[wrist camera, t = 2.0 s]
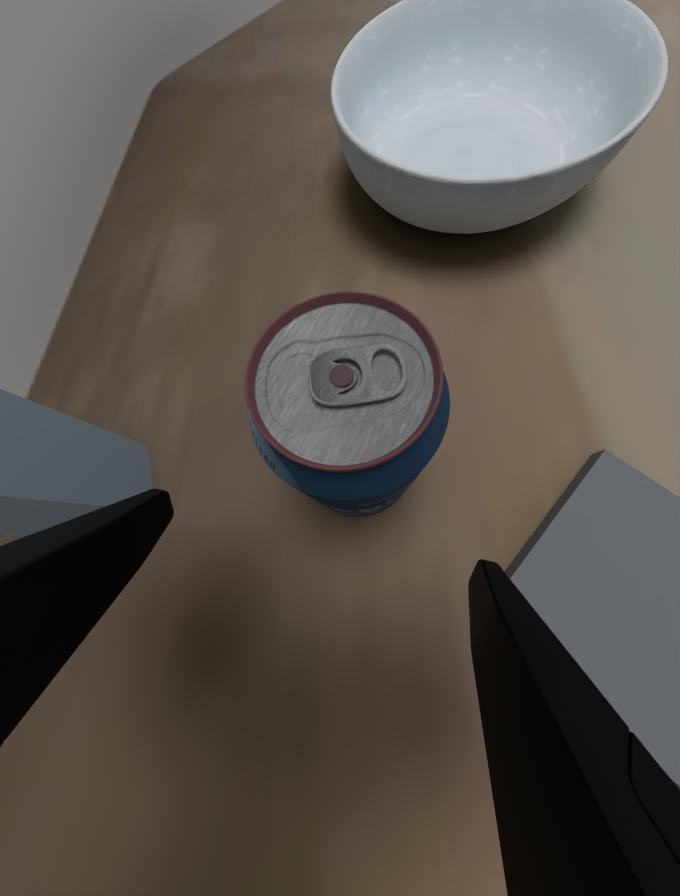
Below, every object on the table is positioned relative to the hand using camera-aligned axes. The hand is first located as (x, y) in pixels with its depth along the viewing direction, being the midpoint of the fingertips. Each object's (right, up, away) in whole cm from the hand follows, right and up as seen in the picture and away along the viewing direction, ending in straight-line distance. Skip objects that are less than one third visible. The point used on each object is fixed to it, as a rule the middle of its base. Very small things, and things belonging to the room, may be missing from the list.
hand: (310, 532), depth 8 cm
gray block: (-15, 0, +13) cm, 20 cm away
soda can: (+2, +1, +12) cm, 12 cm away
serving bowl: (+11, +26, +18) cm, 33 cm away
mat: (+17, -6, +8) cm, 20 cm away
